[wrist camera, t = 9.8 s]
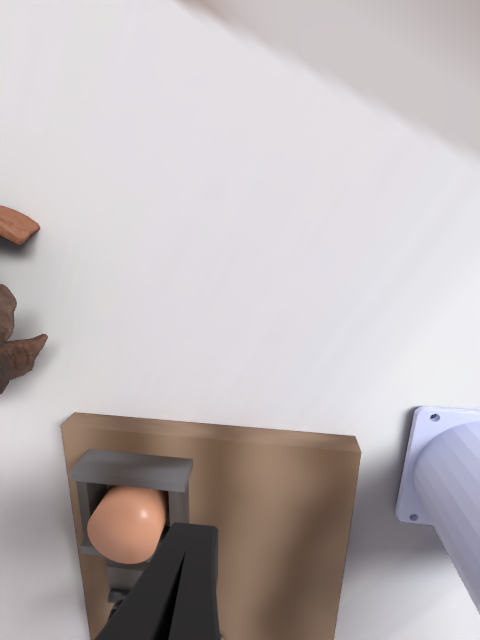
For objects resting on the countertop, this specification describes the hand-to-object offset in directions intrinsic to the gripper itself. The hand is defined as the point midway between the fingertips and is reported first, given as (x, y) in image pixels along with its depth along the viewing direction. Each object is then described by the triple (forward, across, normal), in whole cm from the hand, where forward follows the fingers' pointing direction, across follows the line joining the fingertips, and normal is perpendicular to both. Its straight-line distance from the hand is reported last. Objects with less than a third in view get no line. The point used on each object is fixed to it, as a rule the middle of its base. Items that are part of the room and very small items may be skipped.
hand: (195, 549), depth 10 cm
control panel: (+10, +2, +14) cm, 18 cm away
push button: (+9, +6, +7) cm, 12 cm away
